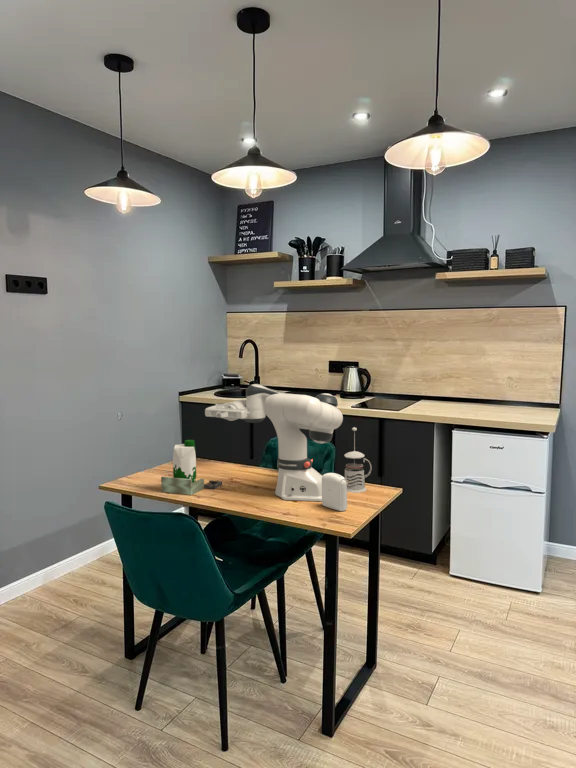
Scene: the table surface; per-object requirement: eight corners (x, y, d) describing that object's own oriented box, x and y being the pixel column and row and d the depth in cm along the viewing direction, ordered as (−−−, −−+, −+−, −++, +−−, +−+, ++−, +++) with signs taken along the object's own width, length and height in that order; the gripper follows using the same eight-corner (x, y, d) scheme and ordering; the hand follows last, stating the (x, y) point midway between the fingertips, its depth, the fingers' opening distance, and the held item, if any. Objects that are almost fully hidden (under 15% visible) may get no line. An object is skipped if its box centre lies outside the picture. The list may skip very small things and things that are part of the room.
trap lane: (222, 485, 219) (222, 470, 219) (201, 496, 203) (201, 481, 203) (174, 480, 227) (174, 466, 227) (151, 490, 211) (151, 476, 211)
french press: (341, 485, 216) (340, 425, 214) (369, 485, 216) (369, 425, 214) (343, 492, 206) (343, 429, 205) (373, 492, 206) (373, 429, 204)
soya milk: (196, 492, 209) (195, 442, 207) (173, 493, 207) (171, 443, 206) (196, 486, 217) (195, 438, 216) (174, 487, 216) (173, 439, 214)
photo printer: (320, 505, 190) (319, 471, 189) (328, 503, 193) (328, 470, 192) (340, 512, 182) (340, 477, 181) (349, 510, 185) (349, 475, 184)
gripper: (252, 419, 248) (239, 423, 236) (213, 416, 256) (199, 420, 243) (252, 405, 248) (239, 409, 235) (213, 403, 255) (198, 407, 242)
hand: (218, 415), depth 239 cm, fingers closed
